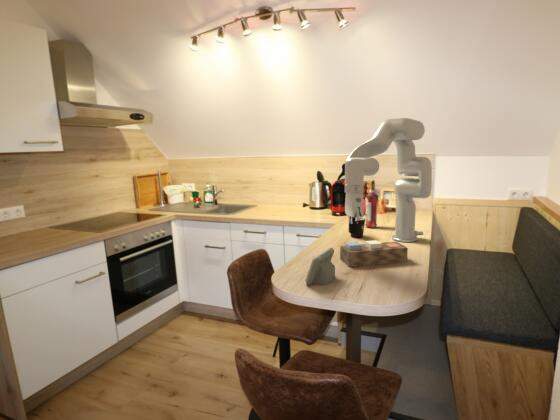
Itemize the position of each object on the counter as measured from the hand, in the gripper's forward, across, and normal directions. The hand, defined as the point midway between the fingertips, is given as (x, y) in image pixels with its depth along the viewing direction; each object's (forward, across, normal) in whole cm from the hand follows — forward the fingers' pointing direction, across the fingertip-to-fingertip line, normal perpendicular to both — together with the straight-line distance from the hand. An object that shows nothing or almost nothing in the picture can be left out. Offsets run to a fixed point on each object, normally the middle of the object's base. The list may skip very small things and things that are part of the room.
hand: (352, 232), depth 150 cm
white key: (+9, 0, -10) cm, 13 cm away
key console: (+13, 0, -10) cm, 16 cm away
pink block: (+10, 0, -19) cm, 21 cm away
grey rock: (+14, -15, +18) cm, 27 cm away
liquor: (+12, +58, -35) cm, 69 cm away
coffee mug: (+12, +40, -20) cm, 47 cm away
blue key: (+9, 0, -1) cm, 9 cm away
